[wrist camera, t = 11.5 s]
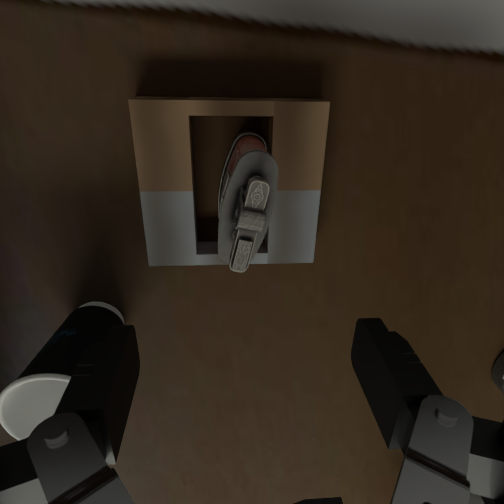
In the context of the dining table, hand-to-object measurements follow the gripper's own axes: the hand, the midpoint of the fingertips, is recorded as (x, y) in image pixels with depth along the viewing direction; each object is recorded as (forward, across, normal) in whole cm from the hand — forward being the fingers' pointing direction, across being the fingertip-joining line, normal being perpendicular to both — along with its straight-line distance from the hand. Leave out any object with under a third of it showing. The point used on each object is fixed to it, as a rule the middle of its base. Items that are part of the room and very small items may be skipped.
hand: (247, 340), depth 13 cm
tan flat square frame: (+20, 0, 0) cm, 20 cm away
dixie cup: (+20, +13, +14) cm, 28 cm away
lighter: (+20, -1, 0) cm, 20 cm away
